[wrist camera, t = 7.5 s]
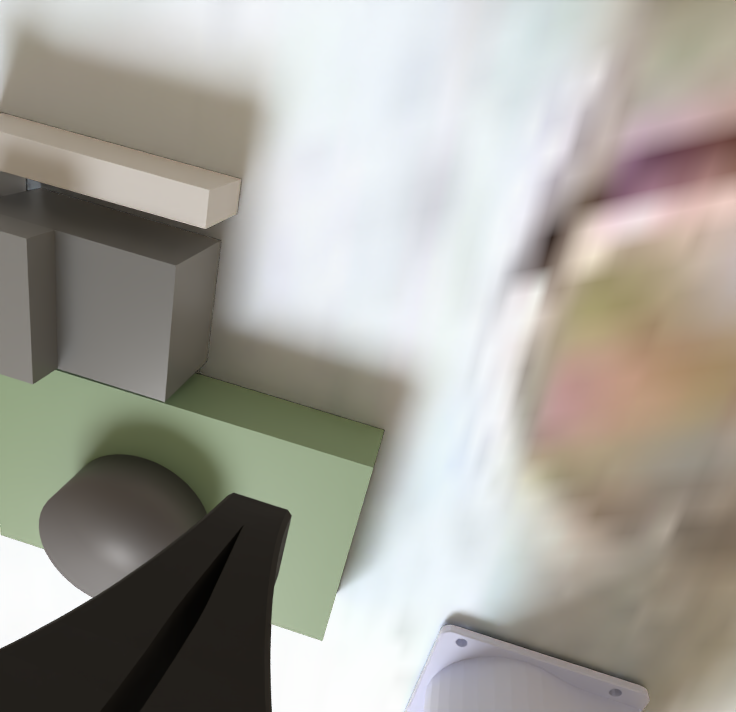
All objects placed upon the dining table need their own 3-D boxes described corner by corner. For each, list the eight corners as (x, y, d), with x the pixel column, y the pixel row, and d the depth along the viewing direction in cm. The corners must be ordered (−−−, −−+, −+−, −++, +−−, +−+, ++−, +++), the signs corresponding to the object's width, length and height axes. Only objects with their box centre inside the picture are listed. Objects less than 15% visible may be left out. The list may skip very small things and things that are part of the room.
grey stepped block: (223, 239, 20) (155, 276, 16) (209, 359, 22) (146, 420, 18) (43, 187, 21) (-68, 210, 16) (47, 310, 23) (-51, 358, 19)
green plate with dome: (442, 234, 19) (431, 272, 15) (336, 594, 26) (309, 684, 22) (-4, 111, 20) (-129, 115, 16) (21, 492, 27) (-59, 560, 23)
